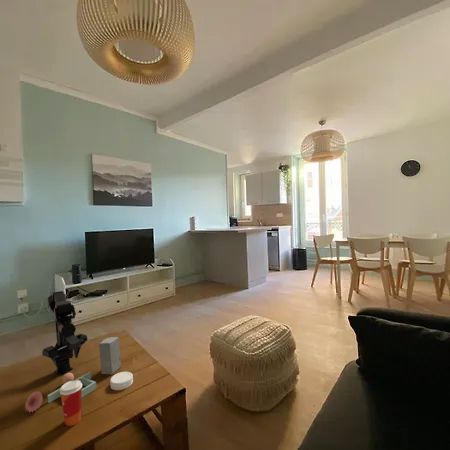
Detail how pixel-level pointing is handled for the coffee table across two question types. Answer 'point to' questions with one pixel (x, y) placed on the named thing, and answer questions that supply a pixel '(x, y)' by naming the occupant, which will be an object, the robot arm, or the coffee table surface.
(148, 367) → the coffee table surface
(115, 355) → the skincare box
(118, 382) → the coaster
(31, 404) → the flower
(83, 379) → the sage green shelf frame
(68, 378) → the ball
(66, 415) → the paper cup
